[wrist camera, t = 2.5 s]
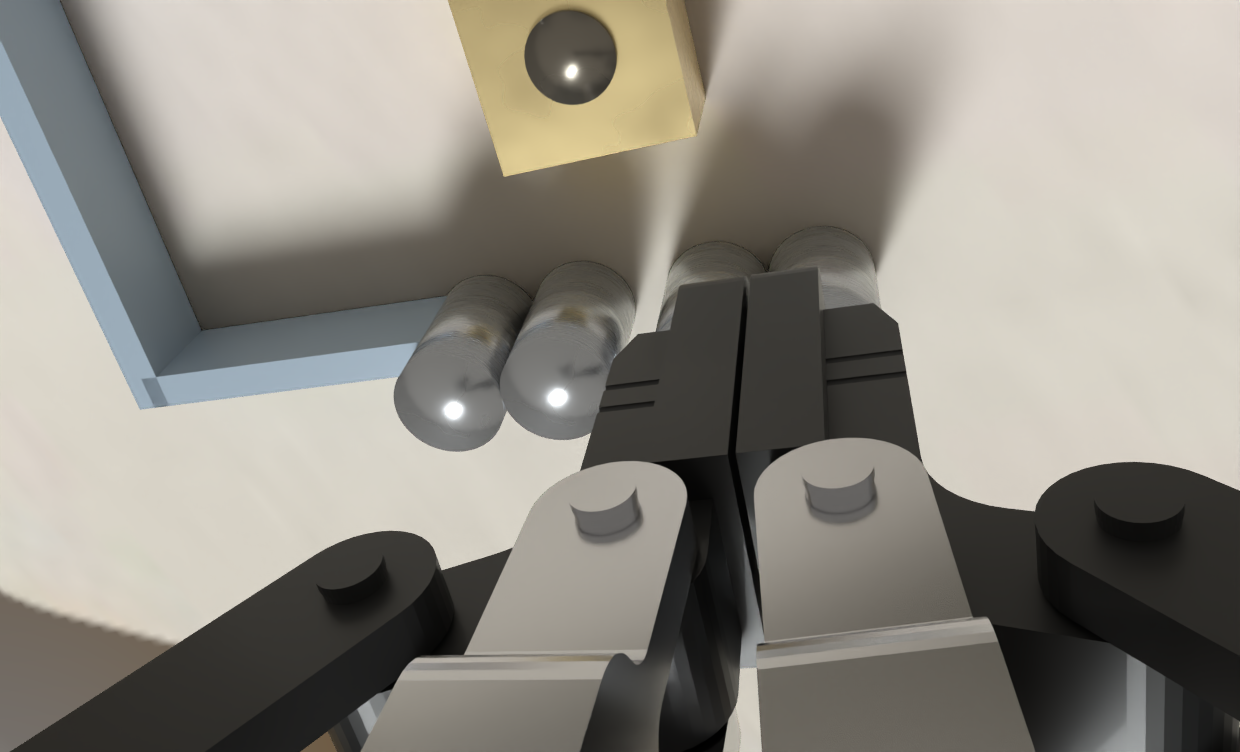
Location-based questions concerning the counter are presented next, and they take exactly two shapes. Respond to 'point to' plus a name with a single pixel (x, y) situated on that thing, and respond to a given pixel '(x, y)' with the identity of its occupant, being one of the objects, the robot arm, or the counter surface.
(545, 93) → the yellow knobbed block
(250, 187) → the counter surface
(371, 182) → the counter surface
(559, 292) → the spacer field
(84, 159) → the parts bay
